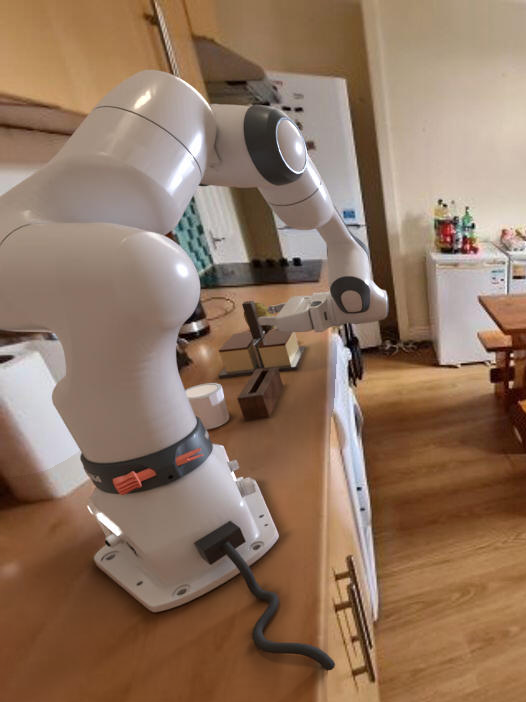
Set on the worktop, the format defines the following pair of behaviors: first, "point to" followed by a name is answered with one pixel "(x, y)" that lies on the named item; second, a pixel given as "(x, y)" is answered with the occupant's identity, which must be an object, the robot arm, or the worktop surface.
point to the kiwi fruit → (262, 312)
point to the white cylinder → (208, 404)
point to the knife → (254, 327)
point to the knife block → (260, 393)
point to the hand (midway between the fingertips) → (263, 315)
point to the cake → (273, 351)
